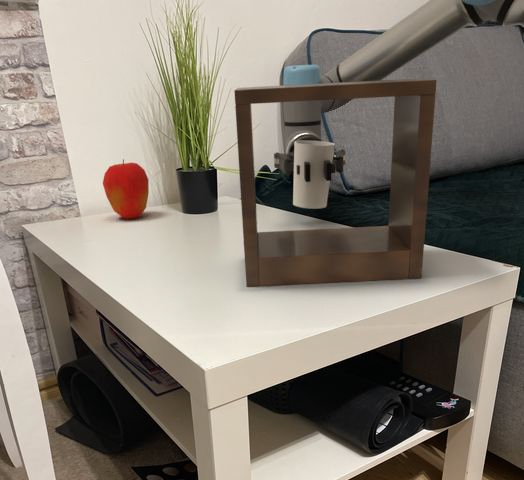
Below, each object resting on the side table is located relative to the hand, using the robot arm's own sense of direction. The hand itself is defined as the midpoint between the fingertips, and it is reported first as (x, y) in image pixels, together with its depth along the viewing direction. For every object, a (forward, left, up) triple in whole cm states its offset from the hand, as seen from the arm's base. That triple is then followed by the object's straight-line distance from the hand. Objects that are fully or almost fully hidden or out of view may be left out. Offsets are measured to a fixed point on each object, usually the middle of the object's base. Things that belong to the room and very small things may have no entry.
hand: (318, 172), depth 90 cm
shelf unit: (-5, +10, -12) cm, 17 cm away
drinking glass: (+3, -4, -6) cm, 8 cm away
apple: (+47, -10, -12) cm, 49 cm away
